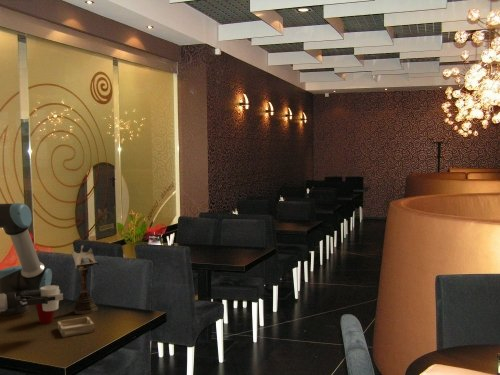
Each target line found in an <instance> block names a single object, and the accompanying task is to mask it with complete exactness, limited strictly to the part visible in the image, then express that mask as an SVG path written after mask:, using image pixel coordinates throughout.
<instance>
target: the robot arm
mask: <svg viewBox="0 0 500 375" xmlns="http://www.w3.org/2000/svg"><path fill="white" fill-rule="evenodd" d="M32 216H33V215H32V212H31V209H30V208H29V206H28V205H27V204H25V203H18V202H13V203H0V229H3V230H4V232H5V234H6V235H8V236H10V239H11V241H12V244H13V246H14V249H15V252H16V255H17V257H18V260H19V263H20V265H14V266H8V267H5V268H2V269H0V316H11V315H17V314H21V313H25V312H27V311H28V310H29V306H34V305H35V306H36V304H48V302H51V301H58V300H59V301H62V300H64V293H61V289H59V294H55V295H47V296H43V297H41V291H40V288H41V287H44V286H50V285H51V284H52V279H53V272H52V269H51V268H48V267H47V268H46V267H45V264H44V263H42V262H41V261H40V259H39V256H38V253H37V251H36V248H35V246H34V242H33V240H32V237H31V234H30V232H29V228H30V226H31V225H32V221H33V217H32ZM24 292H27V293H24Z"/></svg>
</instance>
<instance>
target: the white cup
mask: <svg viewBox="0 0 500 375" xmlns="http://www.w3.org/2000/svg"><path fill="white" fill-rule="evenodd" d="M59 290H60V286H59V285H55V284H53V285H51V284H50V286H44V287H41V288H40V291H41V297H43V296H47V295H55V294H59ZM59 302H60V300H58V301H51V302H48V304H42V309H43V311H54V312H55V311H57V310H59V308H60V307H59V304H60V303H59Z"/></svg>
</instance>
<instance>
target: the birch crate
mask: <svg viewBox="0 0 500 375" xmlns="http://www.w3.org/2000/svg"><path fill="white" fill-rule="evenodd" d="M56 322H57V330H58V331H59V333H60V336H61V337H62V338H66V337H72V336H78V335H83V334H84V335H85V334H90V333H94V332H95V323H94V321H93V320H92V319H91V318H90V317H89V316H83V317H75V318H69V319H63V320H58V321H56Z"/></svg>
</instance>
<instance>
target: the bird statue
mask: <svg viewBox="0 0 500 375" xmlns="http://www.w3.org/2000/svg"><path fill="white" fill-rule="evenodd" d="M93 251H94V250H93V249H92V247H90V249H89V250H88V251H85V247H84V244H82V245H81V246H80V251H79V252H76V251H71V256H72V258H73V261H74V268H75V270H77V268H78V267H79V268H78V271H79V275H81V290H80V291H79V295H78V298H76V299H77V300H76V301H75V302H76V303H75V306H74V308H73V313H74V314H76V315H88V313H89V314H94V313H95V311H96V312H98V311H97V310H98V306H97V305H96V304H95V301H94V298H93V297H92V296H91V294H90V290H89V289H88V288H87V287H88V285H87V284H88V281H87V280H88V278H87V275H88V274H89V270H90V268H89V267H93V266H94V265H97V266H100V263H99V261H97V259H96V257H95V253H94V252H93Z"/></svg>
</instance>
